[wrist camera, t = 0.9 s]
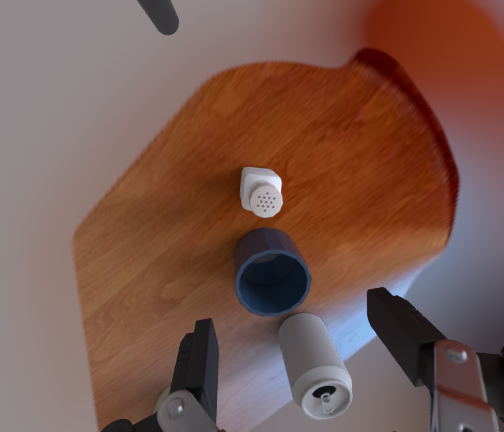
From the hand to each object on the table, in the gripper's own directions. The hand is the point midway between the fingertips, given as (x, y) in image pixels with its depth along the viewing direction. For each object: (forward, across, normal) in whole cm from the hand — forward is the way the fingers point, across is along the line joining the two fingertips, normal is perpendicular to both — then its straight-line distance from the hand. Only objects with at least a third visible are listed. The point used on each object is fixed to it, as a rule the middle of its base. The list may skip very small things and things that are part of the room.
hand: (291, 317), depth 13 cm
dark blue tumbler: (+22, -1, +8) cm, 24 cm away
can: (+22, -4, +22) cm, 32 cm away
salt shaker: (+22, -1, -2) cm, 23 cm away
